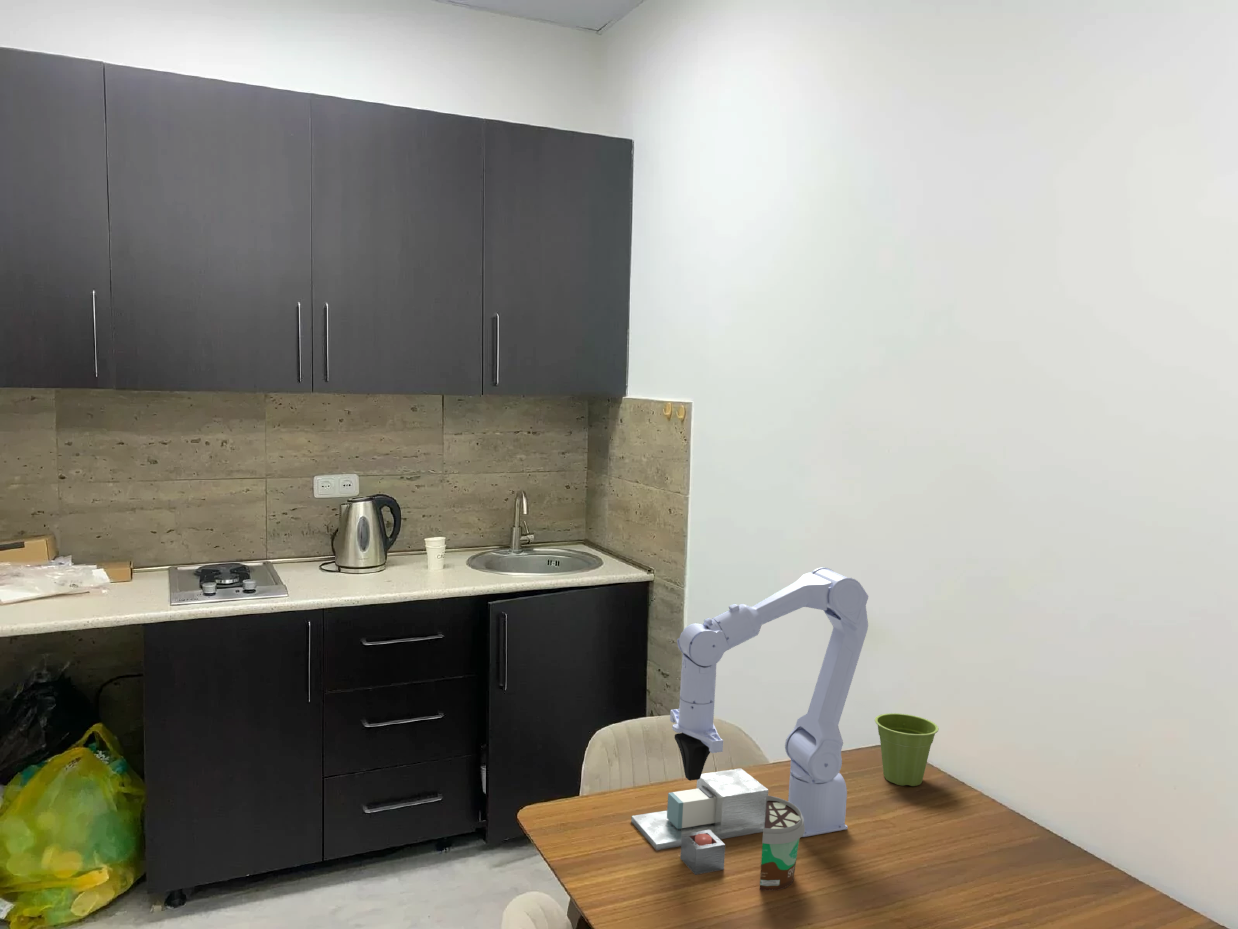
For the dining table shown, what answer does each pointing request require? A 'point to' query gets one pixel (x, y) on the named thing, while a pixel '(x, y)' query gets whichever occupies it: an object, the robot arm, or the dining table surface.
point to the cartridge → (691, 807)
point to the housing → (734, 810)
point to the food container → (780, 843)
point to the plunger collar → (702, 853)
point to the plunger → (703, 839)
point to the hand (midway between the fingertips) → (692, 778)
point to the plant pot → (905, 746)
